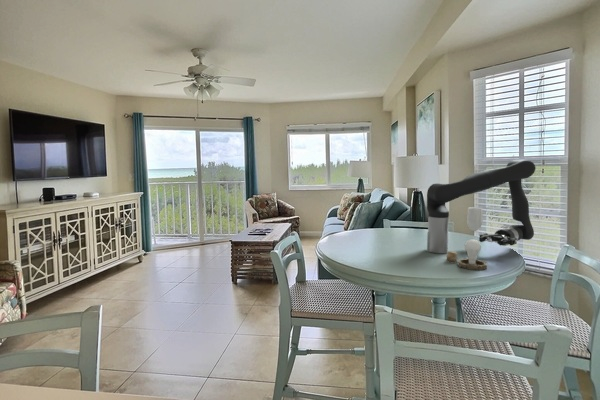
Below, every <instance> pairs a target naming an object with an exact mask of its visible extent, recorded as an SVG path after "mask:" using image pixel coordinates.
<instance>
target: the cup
mask: <svg viewBox="0 0 600 400" xmlns="http://www.w3.org/2000/svg"><path fill="white" fill-rule="evenodd" d="M483 218H484V213H483V207H479V206H478V207H476V206H474V207H473V206H469V207H468V208H467V212H466V223H467V227H468V228H469V229H470V230H471V231H472V232H476V231H478V230H480V229H481V227H482V226H483V225H482V224H483V221H484V219H483Z"/></svg>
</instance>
